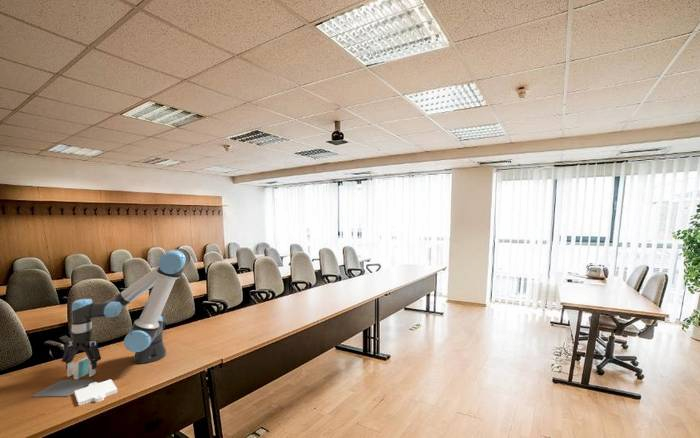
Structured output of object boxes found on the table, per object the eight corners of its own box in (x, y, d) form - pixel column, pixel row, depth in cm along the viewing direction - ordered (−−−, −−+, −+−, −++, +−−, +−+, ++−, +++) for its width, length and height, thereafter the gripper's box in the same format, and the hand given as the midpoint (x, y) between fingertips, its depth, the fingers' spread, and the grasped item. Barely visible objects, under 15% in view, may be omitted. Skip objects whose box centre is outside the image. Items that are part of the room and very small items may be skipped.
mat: (93, 380, 142) (93, 379, 142) (68, 396, 129) (68, 395, 129) (60, 380, 142) (60, 380, 142) (31, 396, 129) (31, 396, 129)
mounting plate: (118, 395, 131) (118, 391, 131) (79, 409, 121) (79, 404, 121) (109, 381, 143) (109, 377, 143) (73, 392, 133) (73, 388, 133)
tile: (89, 372, 150) (89, 357, 150) (78, 379, 144) (78, 362, 144) (84, 373, 150) (84, 357, 150) (73, 379, 144) (74, 362, 144)
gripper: (110, 328, 151) (110, 371, 151) (66, 328, 151) (65, 371, 150) (98, 333, 143) (97, 379, 143) (51, 333, 143) (51, 379, 143)
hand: (81, 375), depth 147 cm, fingers open, 10 cm apart
